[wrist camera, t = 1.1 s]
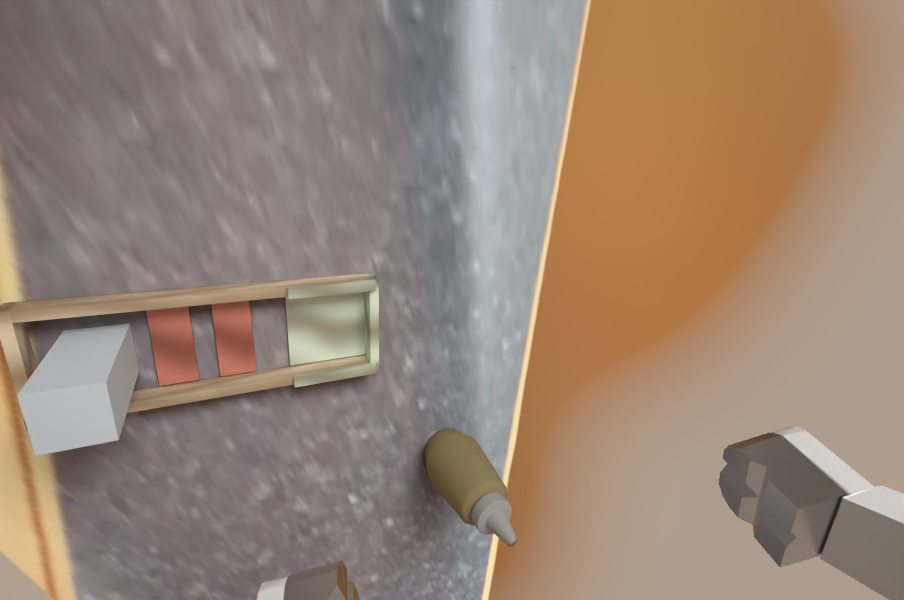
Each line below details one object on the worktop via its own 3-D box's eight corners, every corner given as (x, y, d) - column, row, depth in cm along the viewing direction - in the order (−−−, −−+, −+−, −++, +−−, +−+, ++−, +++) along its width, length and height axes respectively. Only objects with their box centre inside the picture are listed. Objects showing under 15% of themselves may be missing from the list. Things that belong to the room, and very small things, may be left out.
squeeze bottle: (477, 425, 68) (554, 512, 53) (454, 473, 69) (523, 572, 54) (431, 416, 64) (500, 507, 48) (406, 467, 65) (467, 573, 49)
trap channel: (3, 302, 40) (-11, 315, 37) (371, 272, 53) (380, 280, 51) (35, 415, 44) (24, 434, 41) (372, 361, 57) (380, 372, 54)
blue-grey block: (63, 330, 42) (17, 394, 32) (129, 323, 44) (105, 382, 34) (75, 379, 44) (35, 456, 34) (138, 370, 46) (118, 440, 36)
